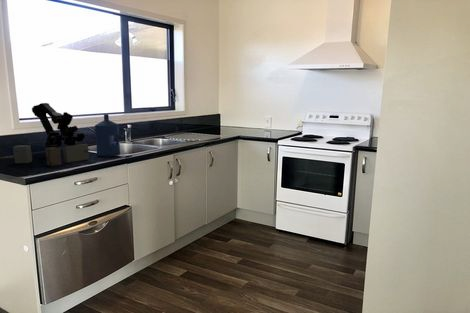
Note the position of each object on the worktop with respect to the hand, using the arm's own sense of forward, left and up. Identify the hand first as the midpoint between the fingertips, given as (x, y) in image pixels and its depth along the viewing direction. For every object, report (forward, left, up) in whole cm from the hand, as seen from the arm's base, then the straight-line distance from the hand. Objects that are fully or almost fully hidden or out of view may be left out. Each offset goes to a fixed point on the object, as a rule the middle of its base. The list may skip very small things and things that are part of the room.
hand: (74, 148), depth 231 cm
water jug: (-21, +14, -8) cm, 27 cm away
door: (+3, +2, -7) cm, 8 cm away
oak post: (+12, -8, -8) cm, 16 cm away
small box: (+6, -30, -8) cm, 32 cm away
